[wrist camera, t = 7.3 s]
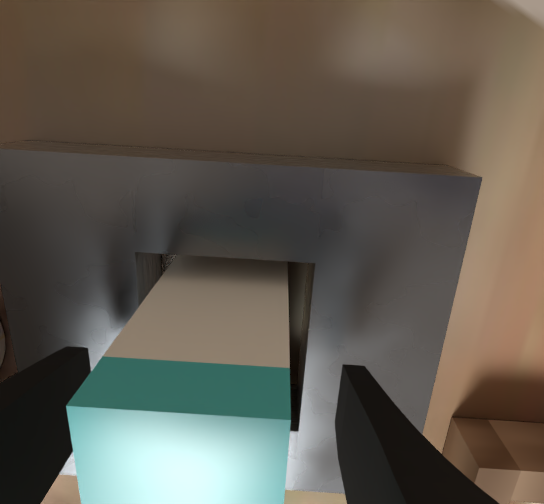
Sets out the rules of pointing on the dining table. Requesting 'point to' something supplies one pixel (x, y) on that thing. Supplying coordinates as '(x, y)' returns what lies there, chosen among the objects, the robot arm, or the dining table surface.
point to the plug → (192, 392)
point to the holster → (499, 457)
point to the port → (245, 245)
